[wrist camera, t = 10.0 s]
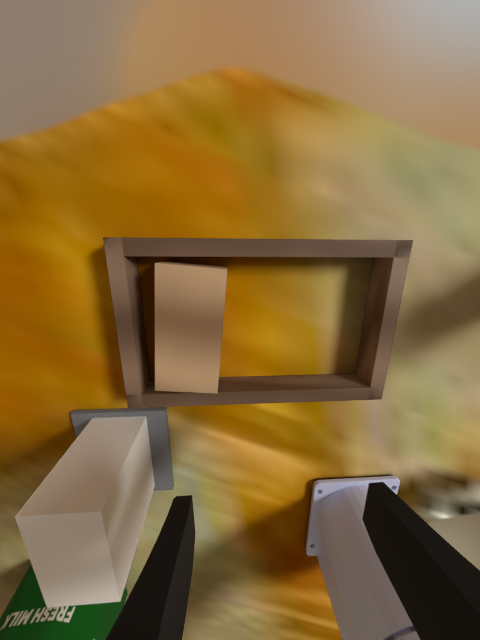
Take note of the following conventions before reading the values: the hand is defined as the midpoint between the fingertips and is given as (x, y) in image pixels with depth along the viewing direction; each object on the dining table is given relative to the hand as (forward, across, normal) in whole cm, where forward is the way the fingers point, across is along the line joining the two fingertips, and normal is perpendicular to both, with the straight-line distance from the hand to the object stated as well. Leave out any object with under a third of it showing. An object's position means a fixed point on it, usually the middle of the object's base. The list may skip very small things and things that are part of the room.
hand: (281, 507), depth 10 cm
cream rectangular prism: (+9, +10, +6) cm, 15 cm away
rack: (+9, -1, -5) cm, 11 cm away
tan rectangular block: (+10, +4, -5) cm, 12 cm away
